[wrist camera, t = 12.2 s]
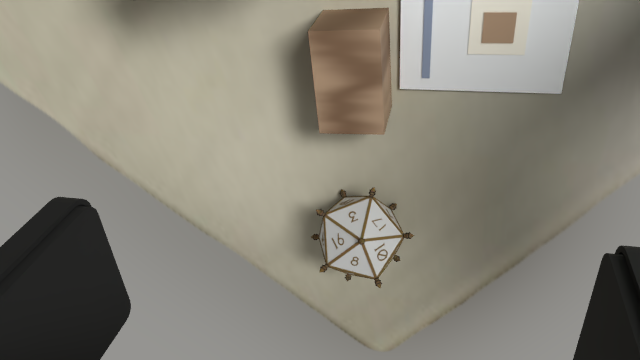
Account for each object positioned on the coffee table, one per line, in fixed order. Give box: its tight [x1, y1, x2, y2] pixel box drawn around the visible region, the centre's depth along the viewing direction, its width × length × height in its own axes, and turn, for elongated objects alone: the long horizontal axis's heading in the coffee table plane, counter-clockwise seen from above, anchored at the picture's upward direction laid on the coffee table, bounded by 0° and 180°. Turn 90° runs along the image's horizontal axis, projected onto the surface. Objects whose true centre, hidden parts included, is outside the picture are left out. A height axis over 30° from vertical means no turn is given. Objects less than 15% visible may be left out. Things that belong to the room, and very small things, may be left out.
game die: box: [311, 187, 414, 288], centre depth 48 cm, size 9×8×10 cm
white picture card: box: [400, 0, 579, 94], centre depth 39 cm, size 12×10×1 cm
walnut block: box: [308, 8, 392, 134], centre depth 41 cm, size 5×5×8 cm
